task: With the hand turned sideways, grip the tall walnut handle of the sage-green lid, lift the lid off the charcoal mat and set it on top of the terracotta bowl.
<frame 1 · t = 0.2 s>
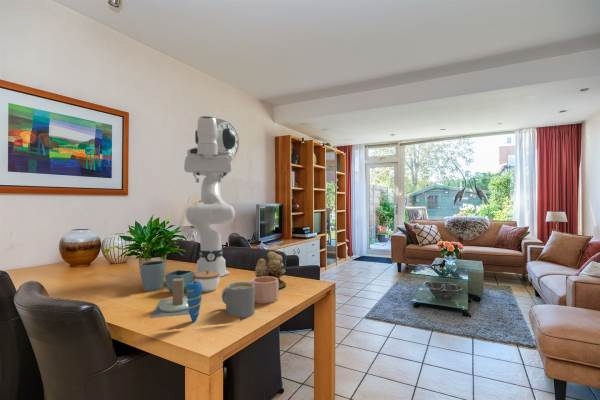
hand: (208, 182, 136), 49 cm above the table, tool pointing down, fingers open, 8 cm apart
lid: (178, 306, 115), point 1 cm above the table, touching mat
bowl: (264, 299, 124), on the table
blue-grey tapered cup: (152, 288, 142), on the table
coffee mug: (237, 312, 110), on the table
brown rock sculpture: (270, 288, 141), on the table
mat: (178, 308, 115), on the table
flower pot: (179, 293, 134), on the table
lidded jar: (207, 291, 136), on the table
ornament: (194, 323, 100), on the table
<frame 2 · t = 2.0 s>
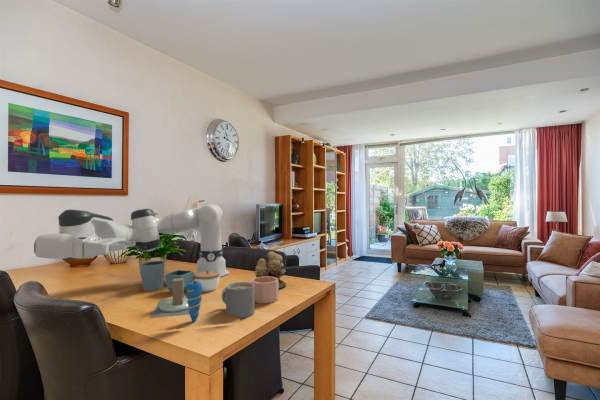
hand: (130, 245, 112), 24 cm above the table, tool horizontal, fingers open, 8 cm apart
nothing on the table moved.
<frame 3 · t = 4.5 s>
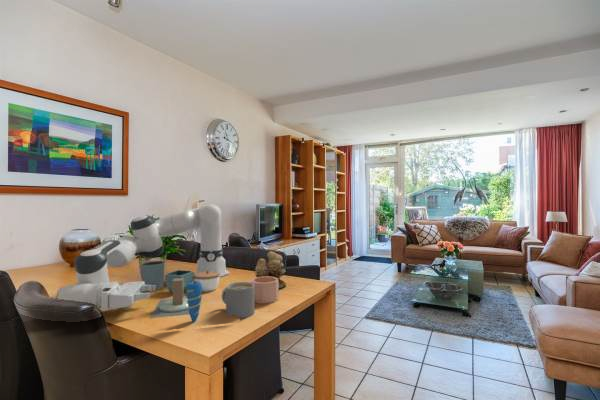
hand: (153, 291, 112), 7 cm above the table, tool horizontal, fingers open, 8 cm apart
nothing on the table moved.
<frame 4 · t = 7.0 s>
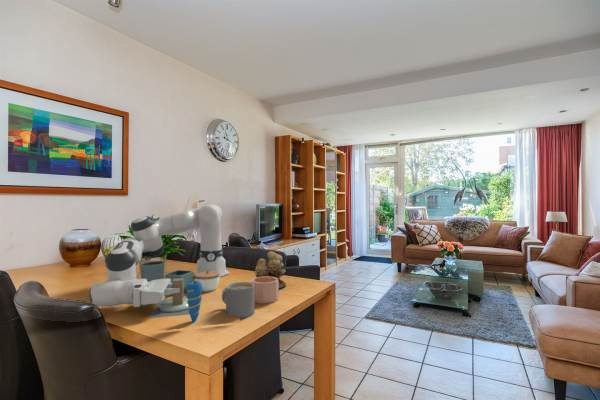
hand: (180, 288, 115), 8 cm above the table, tool horizontal, fingers closed on lid, 3 cm apart
lid: (178, 306, 115), point 1 cm above the table, touching gripper, mat
everything else where it was.
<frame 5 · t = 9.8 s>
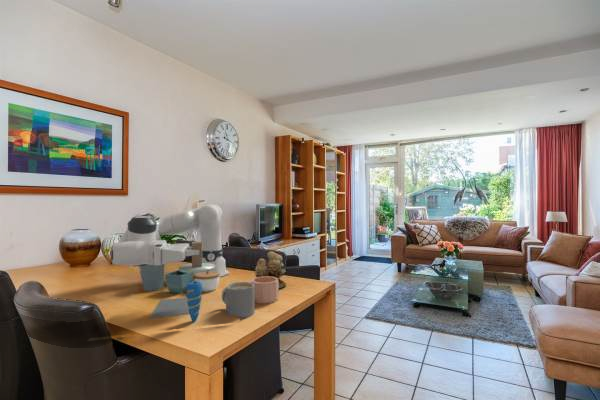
hand: (199, 251, 115), 22 cm above the table, tool horizontal, fingers closed on lid, 3 cm apart
lid: (197, 268, 115), point 15 cm above the table, touching gripper
everything else where it was.
when the fingers open (16 cm above the table, at t = 13.0 s): lid drops 1 cm, resting on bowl.
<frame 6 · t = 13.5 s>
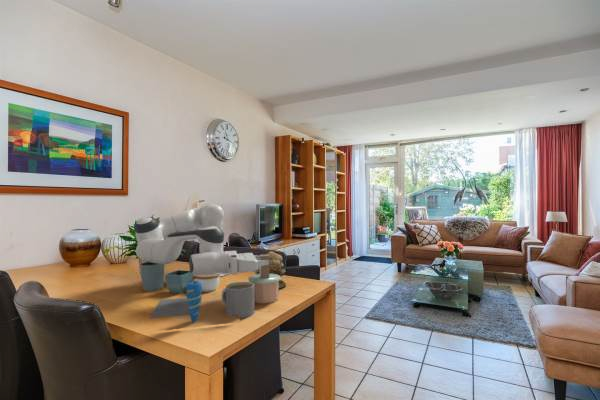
hand: (266, 260, 124), 16 cm above the table, tool horizontal, fingers open, 8 cm apart
lid: (264, 279, 124), point 8 cm above the table, touching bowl
everything else where it was.
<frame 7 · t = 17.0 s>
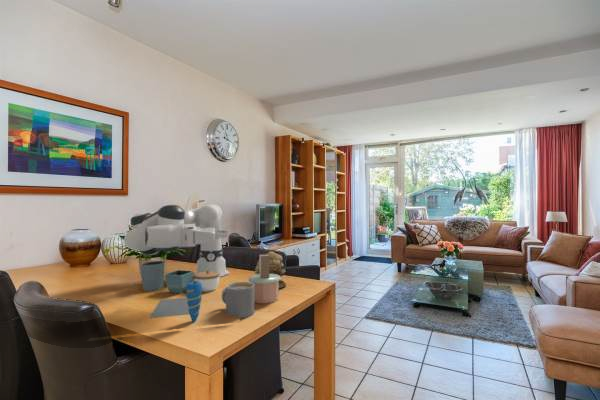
hand: (227, 233, 121), 27 cm above the table, tool horizontal, fingers open, 8 cm apart
nothing on the table moved.
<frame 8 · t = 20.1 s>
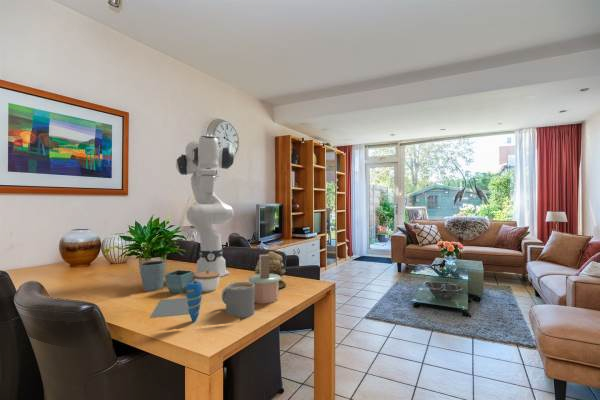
hand: (209, 204, 132), 39 cm above the table, tool pointing down, fingers open, 8 cm apart
nothing on the table moved.
at the end: lid 0.0 cm off-centre on the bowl, point 8.0 cm above the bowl's base; lid tilted 0°; the gripper is holding nothing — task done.
